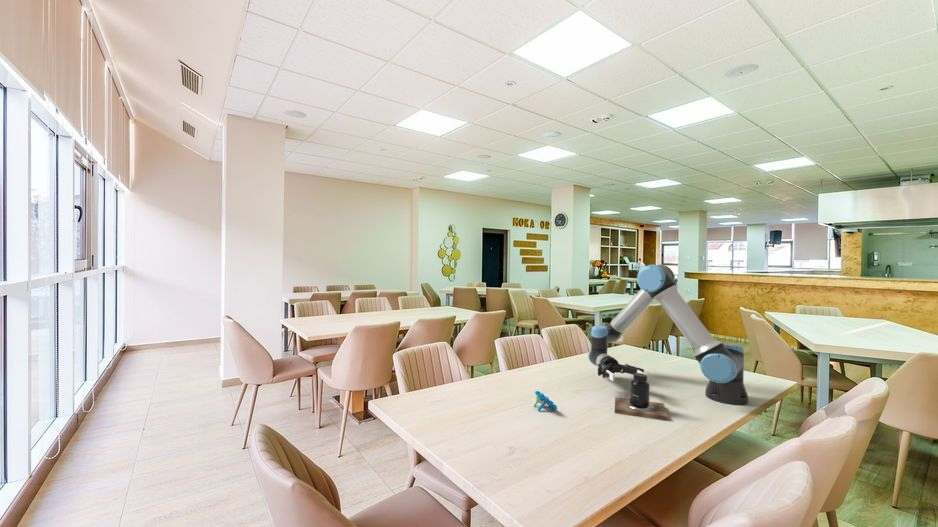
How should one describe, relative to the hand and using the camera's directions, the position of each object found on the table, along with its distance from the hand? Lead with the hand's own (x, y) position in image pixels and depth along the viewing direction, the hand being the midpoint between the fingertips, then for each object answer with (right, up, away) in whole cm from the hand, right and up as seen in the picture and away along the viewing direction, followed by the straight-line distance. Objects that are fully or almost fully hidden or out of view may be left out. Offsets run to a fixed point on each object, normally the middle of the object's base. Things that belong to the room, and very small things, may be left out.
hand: (629, 377), depth 157 cm
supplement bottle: (0, -9, -8) cm, 12 cm away
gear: (-36, -10, -8) cm, 39 cm away
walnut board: (0, -10, -8) cm, 13 cm away
